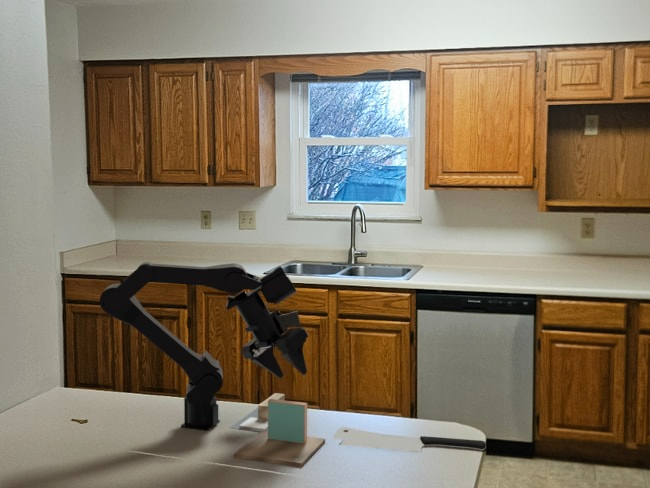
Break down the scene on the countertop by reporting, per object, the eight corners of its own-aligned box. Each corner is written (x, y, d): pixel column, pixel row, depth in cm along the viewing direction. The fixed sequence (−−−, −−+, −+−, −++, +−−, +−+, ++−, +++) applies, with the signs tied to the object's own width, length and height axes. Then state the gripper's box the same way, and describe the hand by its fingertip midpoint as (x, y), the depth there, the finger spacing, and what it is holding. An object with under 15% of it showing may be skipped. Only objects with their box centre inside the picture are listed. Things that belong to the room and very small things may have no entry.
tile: (267, 439, 160) (267, 401, 159) (270, 436, 161) (270, 398, 160) (304, 444, 157) (304, 405, 156) (306, 441, 159) (307, 403, 158)
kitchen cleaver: (328, 444, 159) (338, 423, 168) (328, 452, 159) (338, 430, 168) (484, 459, 152) (485, 436, 161) (484, 467, 152) (485, 443, 162)
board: (233, 458, 152) (233, 453, 151) (262, 435, 165) (262, 430, 165) (301, 468, 147) (301, 463, 147) (325, 443, 160) (325, 438, 160)
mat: (229, 429, 168) (229, 427, 168) (260, 406, 184) (260, 405, 184) (272, 434, 165) (272, 433, 165) (300, 411, 181) (300, 409, 181)
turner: (239, 428, 168) (239, 412, 168) (267, 406, 183) (267, 392, 183) (265, 431, 166) (265, 415, 166) (291, 409, 181) (291, 394, 181)
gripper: (305, 289, 167) (341, 350, 170) (259, 302, 182) (293, 358, 184) (270, 317, 160) (308, 380, 163) (225, 328, 175) (261, 386, 177)
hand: (293, 375), depth 172 cm, fingers open, 9 cm apart
